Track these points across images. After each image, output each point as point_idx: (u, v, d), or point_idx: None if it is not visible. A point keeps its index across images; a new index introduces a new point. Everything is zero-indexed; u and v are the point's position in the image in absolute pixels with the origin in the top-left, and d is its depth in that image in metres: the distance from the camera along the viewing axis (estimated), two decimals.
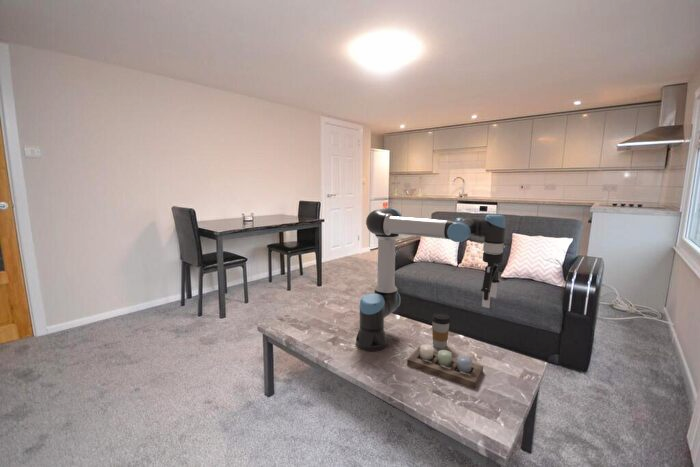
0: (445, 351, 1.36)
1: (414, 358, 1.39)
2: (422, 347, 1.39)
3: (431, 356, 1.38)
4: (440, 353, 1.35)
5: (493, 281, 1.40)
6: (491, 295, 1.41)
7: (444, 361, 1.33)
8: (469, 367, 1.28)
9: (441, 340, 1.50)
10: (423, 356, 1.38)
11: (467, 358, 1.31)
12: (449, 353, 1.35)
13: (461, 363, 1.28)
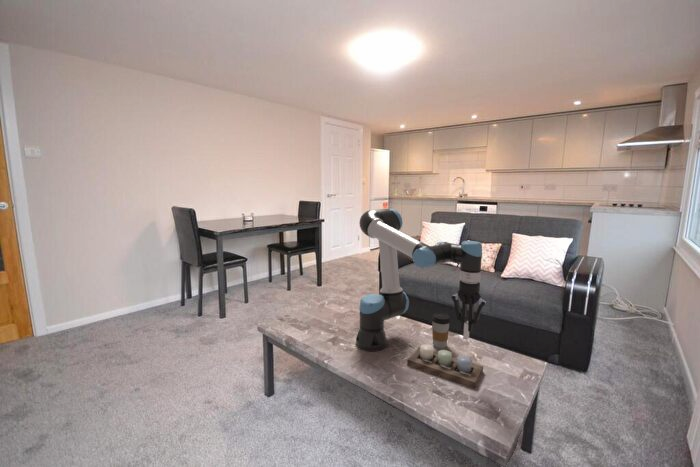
0: (445, 351, 1.36)
1: (414, 358, 1.39)
2: (422, 347, 1.39)
3: (431, 356, 1.38)
4: (440, 353, 1.35)
5: None
6: None
7: (444, 361, 1.33)
8: (469, 367, 1.28)
9: (441, 340, 1.50)
10: (423, 356, 1.38)
11: (467, 358, 1.31)
12: (449, 353, 1.35)
13: (461, 363, 1.28)
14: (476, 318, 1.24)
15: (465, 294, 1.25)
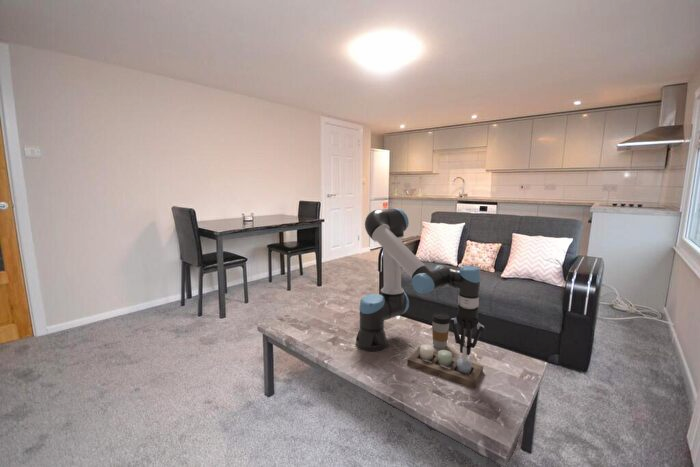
0: (445, 351, 1.36)
1: (414, 358, 1.39)
2: (422, 347, 1.39)
3: (431, 356, 1.38)
4: (440, 353, 1.35)
5: None
6: None
7: (444, 361, 1.33)
8: (469, 369, 1.28)
9: (441, 340, 1.50)
10: (423, 356, 1.38)
11: (467, 360, 1.31)
12: (449, 353, 1.35)
13: (461, 365, 1.29)
14: (474, 342, 1.26)
15: (463, 318, 1.27)
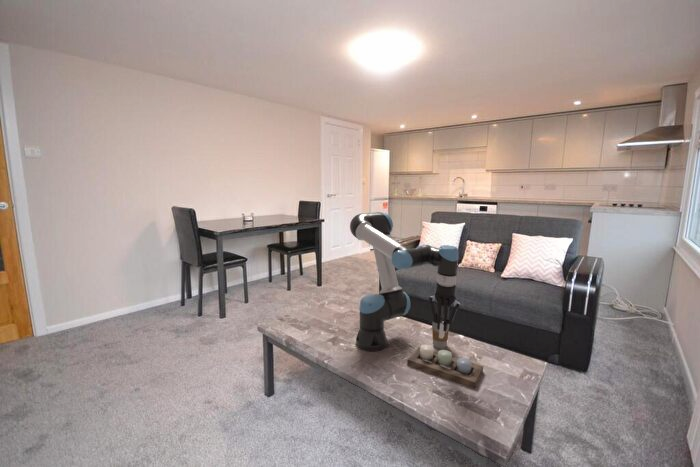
0: (445, 351, 1.36)
1: (414, 358, 1.39)
2: (422, 347, 1.39)
3: (431, 356, 1.38)
4: (440, 353, 1.35)
5: None
6: None
7: (444, 361, 1.33)
8: (469, 369, 1.28)
9: (441, 340, 1.50)
10: (423, 356, 1.38)
11: (467, 360, 1.31)
12: (449, 353, 1.35)
13: (461, 365, 1.29)
14: (451, 319, 1.30)
15: (441, 296, 1.31)
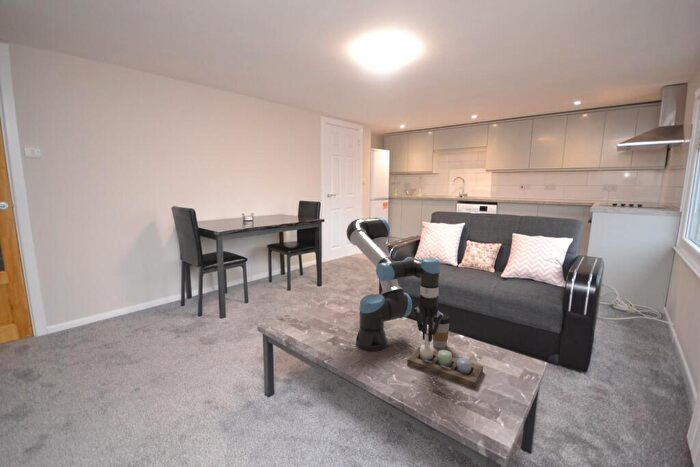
0: (445, 351, 1.36)
1: (414, 358, 1.39)
2: (422, 347, 1.39)
3: (431, 356, 1.38)
4: (440, 353, 1.35)
5: None
6: None
7: (444, 361, 1.33)
8: (469, 369, 1.28)
9: (441, 340, 1.50)
10: (423, 356, 1.38)
11: (467, 360, 1.31)
12: (449, 353, 1.35)
13: (461, 365, 1.29)
14: (435, 329, 1.34)
15: (425, 307, 1.36)
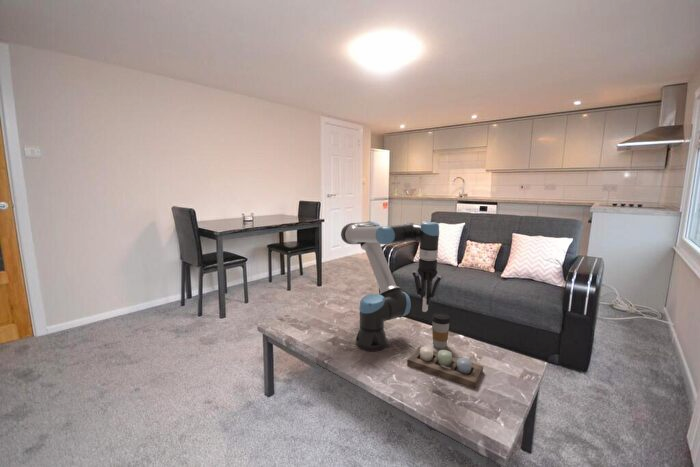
0: (445, 351, 1.36)
1: (414, 358, 1.39)
2: (422, 349, 1.40)
3: (431, 358, 1.38)
4: (440, 353, 1.35)
5: None
6: None
7: (444, 361, 1.33)
8: (469, 369, 1.28)
9: (441, 340, 1.50)
10: (423, 358, 1.38)
11: (467, 360, 1.31)
12: (449, 353, 1.35)
13: (461, 365, 1.29)
14: (433, 292, 1.36)
15: (424, 270, 1.37)
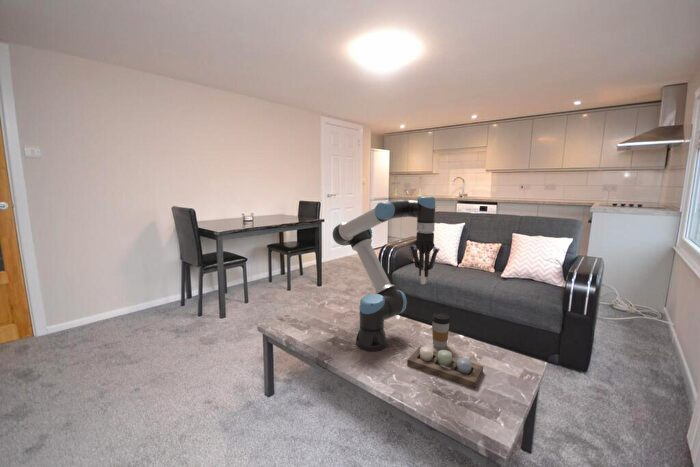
0: (445, 351, 1.36)
1: (414, 358, 1.39)
2: (422, 349, 1.40)
3: (431, 358, 1.38)
4: (440, 353, 1.35)
5: None
6: None
7: (444, 361, 1.33)
8: (469, 369, 1.28)
9: (441, 340, 1.50)
10: (423, 358, 1.38)
11: (467, 360, 1.31)
12: (449, 353, 1.35)
13: (461, 365, 1.29)
14: (431, 264, 1.41)
15: (421, 243, 1.42)
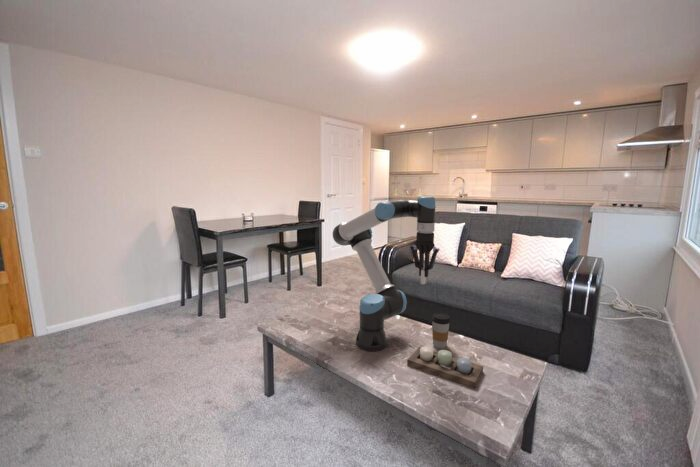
0: (445, 351, 1.36)
1: (414, 358, 1.39)
2: (422, 349, 1.40)
3: (431, 358, 1.38)
4: (440, 353, 1.35)
5: None
6: None
7: (444, 361, 1.33)
8: (469, 369, 1.28)
9: (441, 340, 1.50)
10: (423, 358, 1.38)
11: (467, 360, 1.31)
12: (449, 353, 1.35)
13: (461, 365, 1.29)
14: (431, 264, 1.41)
15: (421, 243, 1.42)
